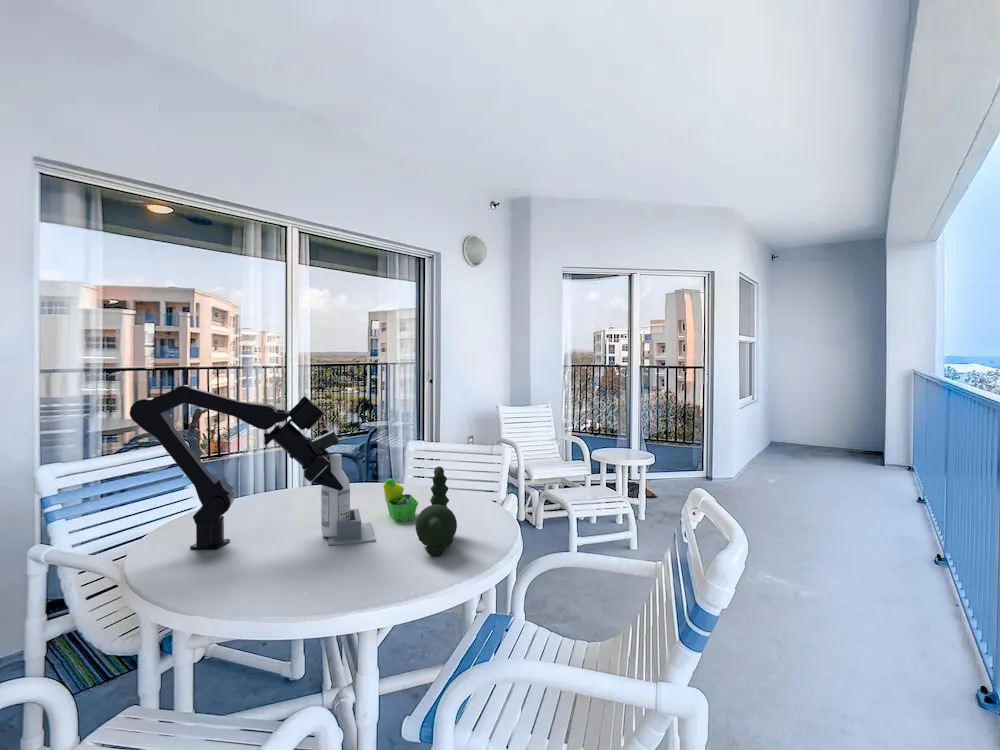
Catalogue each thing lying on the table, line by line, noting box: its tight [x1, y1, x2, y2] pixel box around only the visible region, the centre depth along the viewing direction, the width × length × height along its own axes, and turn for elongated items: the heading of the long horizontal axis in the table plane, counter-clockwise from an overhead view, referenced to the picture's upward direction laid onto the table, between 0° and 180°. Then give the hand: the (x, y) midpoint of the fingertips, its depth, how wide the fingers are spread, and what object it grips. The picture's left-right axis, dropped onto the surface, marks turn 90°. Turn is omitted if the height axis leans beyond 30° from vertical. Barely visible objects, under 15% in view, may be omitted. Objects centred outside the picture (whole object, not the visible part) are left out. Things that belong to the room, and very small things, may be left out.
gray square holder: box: [328, 508, 376, 546], centre depth 147 cm, size 11×16×5 cm
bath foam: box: [320, 453, 351, 538], centre depth 145 cm, size 7×7×20 cm
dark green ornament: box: [415, 466, 458, 557], centre depth 137 cm, size 9×19×25 cm
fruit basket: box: [383, 477, 419, 523], centre depth 163 cm, size 11×9×11 cm
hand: (341, 485), depth 146 cm, fingers open, 9 cm apart
